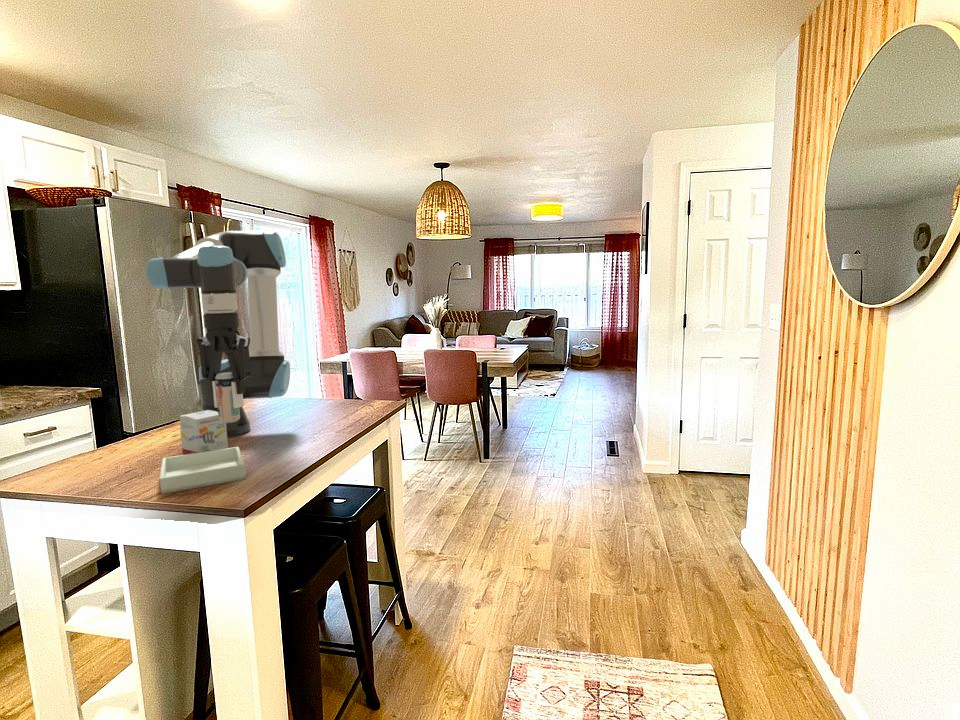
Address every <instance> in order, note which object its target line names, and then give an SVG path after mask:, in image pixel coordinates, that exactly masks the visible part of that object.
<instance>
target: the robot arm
mask: <svg viewBox="0 0 960 720" xmlns="http://www.w3.org/2000/svg"><path fill="white" fill-rule="evenodd" d="M284 248H285V247H284V244H283V242H282V239H281V236H280V234H279V233H278V232H276V231H274V230H273V231H272V230H263V229H261V230H227V231H220V232H216V233H213V234H209V235H207V236H205V237H203V238H200V239H199V240H197V241H196V243H194V246H192V247H190V248H188V249H186V250H184V251H181V252H180V253H177V254H175V255H174V256H171V257H157V258H156V257H155V258H150V259H149V260H148V261H147V263H146V266H145V272H146V278H147V281H148V283H149V284H150V285H151V287H152V288H155V289H166V290H168V289H189V288H192V289H193V288H194V289H195V288H197V289H198V288H200V291H201V293H200V294H201V301H202V310H203V312H205V313H204V314H203V315H202V316H203V324H204V328H205V329H206V334H205V336H203V337H198V338H196V340H195V341H196V344H197V346H198V349H199V359H200V366H199V368H198V383H199V392H200V402H201V411H206V410H211V411H216V412H218V405H217V394H216V382H215V377H216V375H217V374H218V373H224V372H232V374H233V378H234V380H232V381H233V382H231V384H232V395H233V407H234V408H240V419H239V420H238V421H236V422H232V423H226V429H227V438H230V437H235V436H239V435H243V434H245V433H247V432H249V431H250V430H251V423H250V420H249V418H248V416H247V413H246V411H245V409H244V405H245V404H244V400H248V399H249V400H251V399H267V398H268V399H272V398H278V397H280V398H281V397H283V396H284V395H285V394H287V392H288V389H289V385H290V379H291V363H290V361H289V360H287V359H286V360H285V355H284V354H283V353H282V352H281V351H280V347H279V346H280V344H279V341H280V340H279V319H278V318H279V317H278V316H279V315H278V296H277V278H278V277H279V275H281V274H282V272H281V271H282V270H281V268H282V269H283V268H285V267H286V262H287V261H286V260H287V259H286V253H285V249H284ZM246 281H247V298H248V300H247V301H248V323H249V324H248V325H249V327H248V328H249V336H248V337H244V336H242V335H240V333H239V330H238V329H239V326H240V321H239V314H238V312H237V310H238V309H239V308H238V307H239V306H238V298H237V290H236V288H237V287H240V286H242V285H243V284H244V283H246ZM223 354H225V355H226V357H227V358H226V359H223Z"/></svg>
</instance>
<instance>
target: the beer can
mask: <svg viewBox="0 0 960 720" xmlns="http://www.w3.org/2000/svg"><path fill="white" fill-rule="evenodd" d="M232 380H234V378H233V374H232V372H224V373H218V374H217V375H216V377H215V382H216V394H217V405H218V417H219V421H220V422H222V423H232V422H236V421H238V420H239V419H240V408H234V407H233V395H232V384H231V382H233V381H232Z"/></svg>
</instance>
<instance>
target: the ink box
mask: <svg viewBox="0 0 960 720" xmlns="http://www.w3.org/2000/svg"><path fill="white" fill-rule="evenodd" d="M179 427H180V428H179V429H180V436H181V437H180V440H181V441H180V442H181V450H182V455H186V454H193V453H199V452H206V451H213V450H219V449H226V448H229V445H228V437H227V429H226V423H222V422H220V421H219V417H218V412H216V411H211V410H206V411H202V410H201V411H197V412H196V411H195V412H191V413H187V414H186V413H185V414H182V415H181V414H180V415H179Z"/></svg>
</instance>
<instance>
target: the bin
mask: <svg viewBox="0 0 960 720" xmlns="http://www.w3.org/2000/svg"><path fill="white" fill-rule="evenodd" d="M246 479H247V475H246V466H245V462H244V458H243V456H242V453H241V449H240V447H239V446H234V447H228V448H226V449H219V450H213V451H206V452H199V453H193V454H186V455H183V454H181V455H175V456H174V455H173V456H167V457H162V462H161V467H160V473H159V484H160V485H159V487H160V494H161V495H163V494H169V493H175V492H179V491H180V492H181V491H187V490H193V489H197V488H202V487H203V488H204V487H208V486H215V485H219V484H225V483H230V482H237V481H243V480H246Z"/></svg>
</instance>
